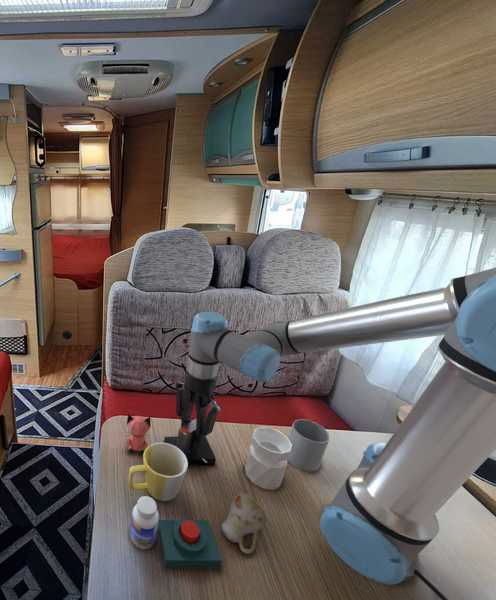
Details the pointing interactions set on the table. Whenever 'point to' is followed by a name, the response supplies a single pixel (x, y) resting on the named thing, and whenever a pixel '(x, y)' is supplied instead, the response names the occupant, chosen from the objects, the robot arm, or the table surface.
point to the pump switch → (188, 545)
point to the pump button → (189, 532)
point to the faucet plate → (196, 453)
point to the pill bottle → (144, 522)
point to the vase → (267, 457)
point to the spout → (186, 437)
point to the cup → (307, 444)
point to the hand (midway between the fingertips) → (189, 444)
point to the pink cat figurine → (137, 433)
